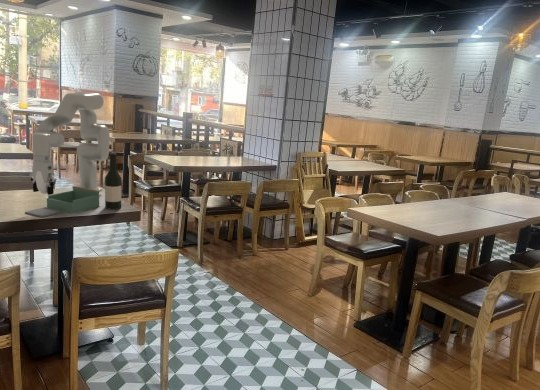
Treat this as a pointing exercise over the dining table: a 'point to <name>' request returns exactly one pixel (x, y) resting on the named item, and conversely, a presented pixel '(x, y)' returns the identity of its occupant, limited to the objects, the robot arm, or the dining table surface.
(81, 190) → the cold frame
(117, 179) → the wine bottle
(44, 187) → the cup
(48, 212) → the rubber mat
